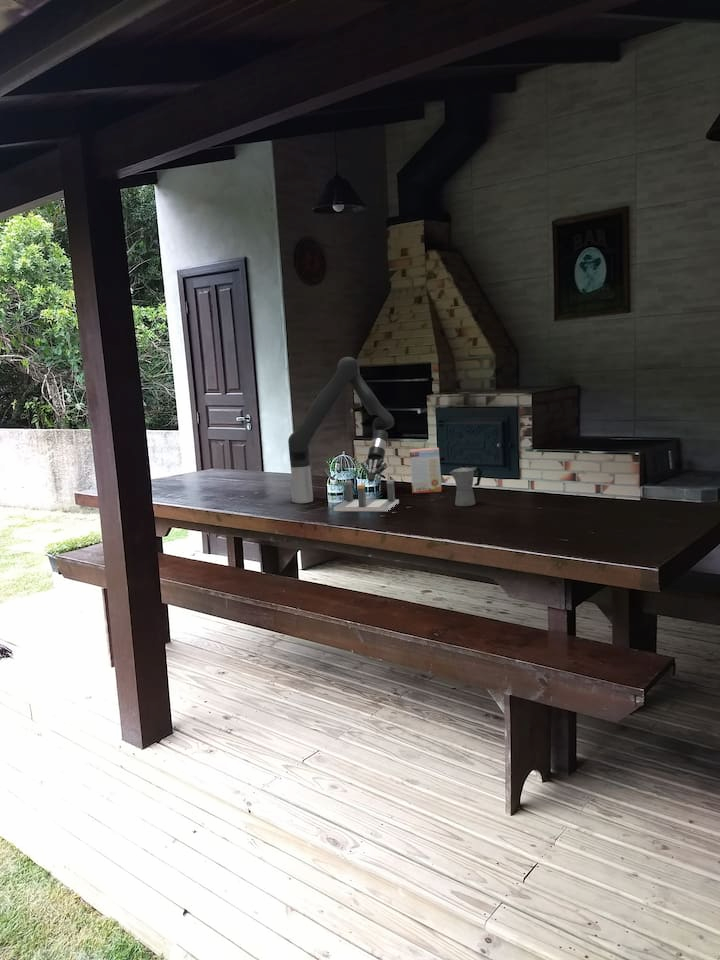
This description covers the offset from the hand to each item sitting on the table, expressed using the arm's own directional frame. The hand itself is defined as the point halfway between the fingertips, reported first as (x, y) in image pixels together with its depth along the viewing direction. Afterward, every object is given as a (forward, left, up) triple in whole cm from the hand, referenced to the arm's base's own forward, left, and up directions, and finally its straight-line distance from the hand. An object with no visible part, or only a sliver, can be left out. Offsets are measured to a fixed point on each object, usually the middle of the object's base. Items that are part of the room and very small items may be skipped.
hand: (370, 481), depth 338 cm
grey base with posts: (0, -8, -10) cm, 13 cm away
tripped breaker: (0, -13, -8) cm, 16 cm away
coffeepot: (+44, -1, -11) cm, 45 cm away
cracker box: (+19, +26, -11) cm, 34 cm away
